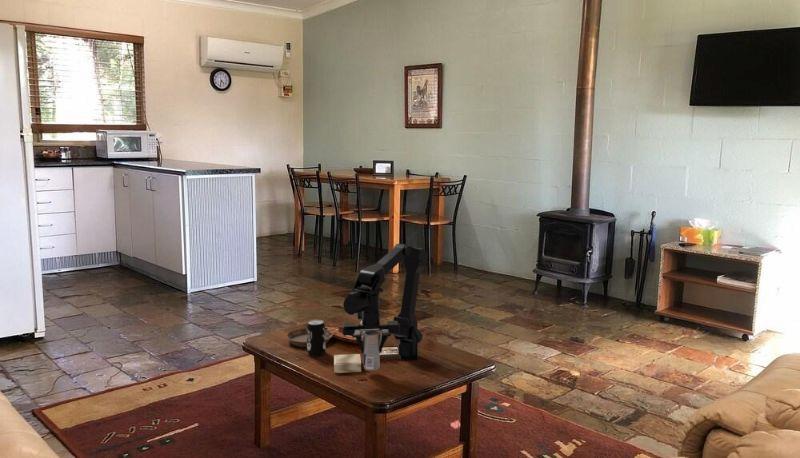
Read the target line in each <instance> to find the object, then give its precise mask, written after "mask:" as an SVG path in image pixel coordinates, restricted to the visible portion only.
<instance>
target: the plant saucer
mask: <svg viewBox="0 0 800 458" xmlns="http://www.w3.org/2000/svg"><path fill="white" fill-rule="evenodd" d="M328 332H331V333H332V334H331V335H330V334H329V333H328ZM285 337H286V339H287V340H288V341H289V342H290V343H291V344H292V345H293V346H295V347H301V348H307V327H305V328H304V327H303V328H298V329H294V330H292V331H289V332H288V333H287V334H286V336H285ZM332 337H333V332H332V331H331V330H329V329H326V328H325V345H326V344H327V343H328V342H329V341H330V340H331V339H332Z"/></svg>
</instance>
